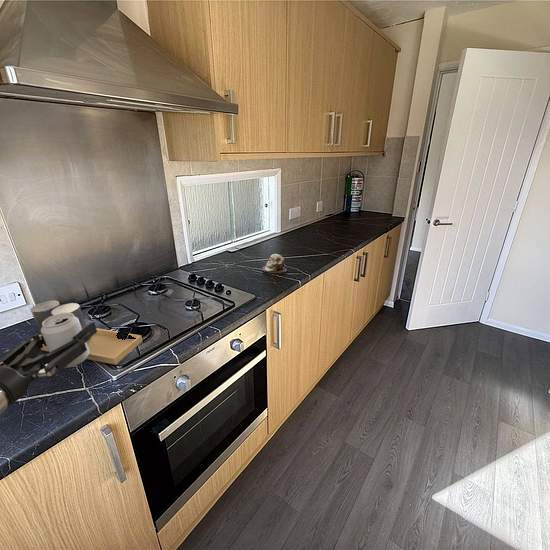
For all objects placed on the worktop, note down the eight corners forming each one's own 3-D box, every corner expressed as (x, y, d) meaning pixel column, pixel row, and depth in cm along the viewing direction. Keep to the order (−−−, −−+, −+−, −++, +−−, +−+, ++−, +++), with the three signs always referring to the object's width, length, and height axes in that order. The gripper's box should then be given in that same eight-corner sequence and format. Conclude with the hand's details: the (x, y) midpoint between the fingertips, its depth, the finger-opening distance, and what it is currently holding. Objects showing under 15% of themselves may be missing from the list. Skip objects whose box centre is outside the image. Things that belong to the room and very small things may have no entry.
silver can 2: (58, 347, 89) (45, 313, 84) (78, 334, 95) (67, 302, 90) (76, 351, 87) (63, 316, 82) (95, 337, 93) (84, 304, 88)
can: (69, 373, 68) (52, 329, 64) (48, 366, 71) (30, 324, 66) (97, 353, 75) (83, 312, 70) (76, 348, 77) (62, 308, 73)
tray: (29, 348, 89) (26, 342, 88) (63, 328, 99) (60, 322, 98) (116, 366, 81) (113, 358, 80) (143, 342, 91) (141, 335, 90)
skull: (272, 275, 133) (263, 255, 135) (264, 283, 142) (255, 264, 144) (293, 268, 139) (284, 249, 141) (284, 276, 148) (276, 258, 150)
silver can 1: (38, 343, 91) (24, 310, 86) (59, 331, 97) (47, 299, 92) (56, 347, 89) (42, 313, 84) (76, 334, 95) (64, 301, 90)
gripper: (-48, 407, 57) (48, 337, 77) (48, 413, 54) (120, 340, 75) (-67, 376, 54) (38, 312, 74) (33, 382, 51) (113, 314, 72)
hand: (79, 326), depth 75 cm, fingers closed on can, 7 cm apart
